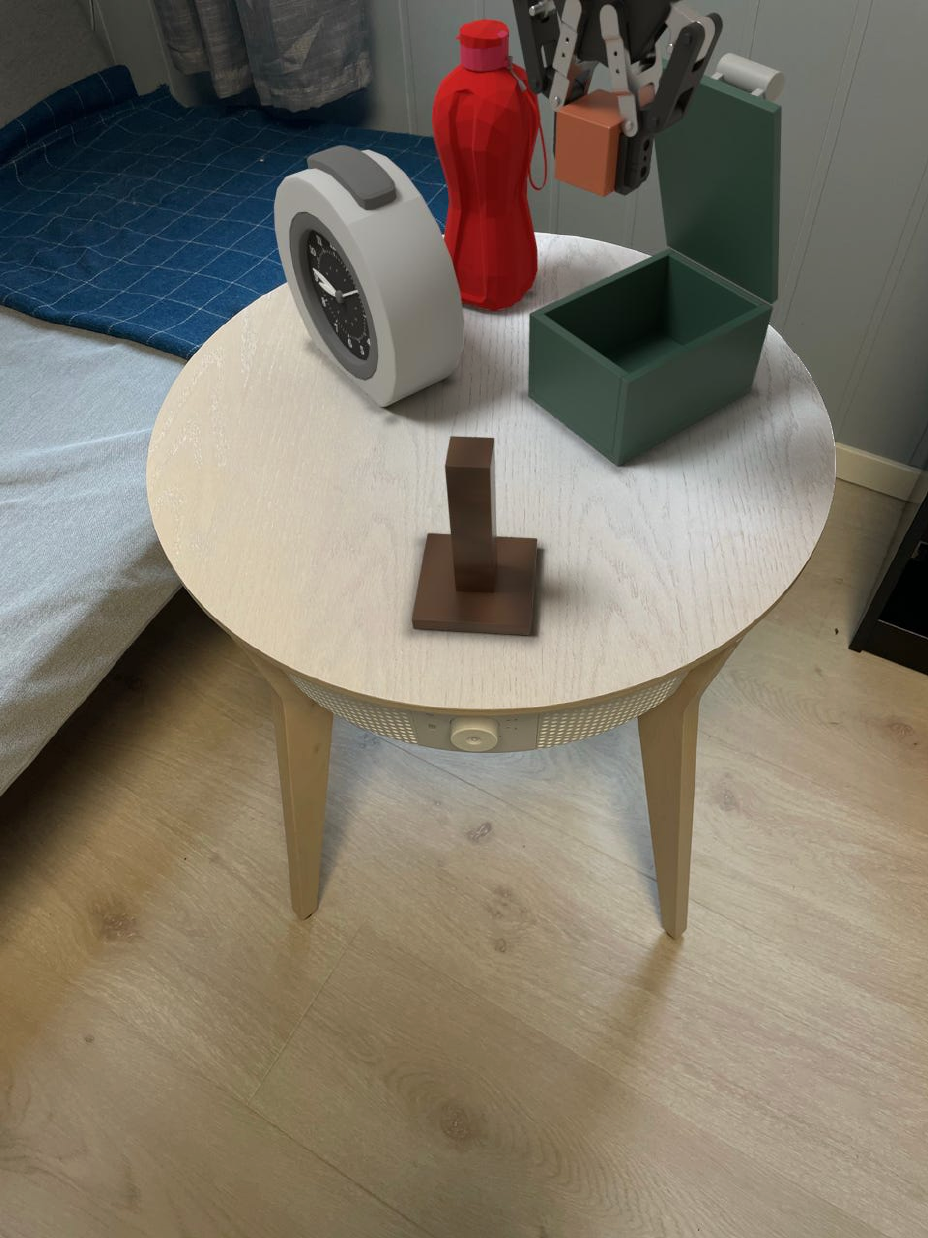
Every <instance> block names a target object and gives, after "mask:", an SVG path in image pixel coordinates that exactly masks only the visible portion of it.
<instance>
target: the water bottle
mask: <svg viewBox="0 0 928 1238" xmlns="http://www.w3.org/2000/svg"><path fill="white" fill-rule="evenodd" d="M455 40H459V47H460V48H459V49H460V50H459V52H460V53H459V54H460V64H458V65H457V66H456V67H455V68H453V69H452V70H451V71H450V72H449V73H448V74H447V75H446V76H445V77H444V78H443V79H442V80H441V81H440V84H439V86H438V88H437V91H436V93H435V96H434V99H433V104H432V109H431V125H432V126H431V127H432V133H433V140H434V144H435V149H436V151H437V155H438V158H439V162H440V165H441V168H442V172H443V175H444V179H445V182H446V186H447V193H448V202H449V203H448V209H447V215H446V222H445V227H444V233H443V234H444V235H443V239H444V241H445V244H446V246H447V249H448V251H449V254H450V256H451V259H452V263H453V267H454V270H455V274H456V278H457V282H458V285H459V289H460V294H461V302H462V304H464V305H469V306H474V307H476V308H479V309H481V310H486V311H491V312H497V311H501V310H506V309H510V308H512V307H514V306H515V305H517V304H518V303H520V302H521V301H522V299H523V298H524V297H525V295H526V294H527V293H528V291H531V290H532V289H533V286H534V284H535V281H536V278H537V274H538V271H539V257H538V256H539V255H538V254H539V253H538V245H537V238H536V234H535V229H534V223H533V220H532V215H531V209H530V205H529V204H530V203H529V200H528V180H529V184H530V185H531V187H532V189H534V190H535V191H540V190H542V189H543V188H544V187H545V185H546V183H547V179H548V159H547V151H546V144H545V138H544V132H543V127H542V123H541V122H542V121H541V120H542V118H541V112H540V105H539V97H538V94H537V95H536V94H533V93H532V92H531V90H530V89H529V86H528V80H527V75H526V70H525V68H523V67H522V66H520V65H518V64H516V63H514V62H513V60H514V56H513V55H510V53H509V52H510V50H509V49H510V29H509V27H508V25H507V24H506V23H504V22H503V21H502V20H496V19H487V18H482V19H476V20H472V21H470V22H467V23H463V25H462V26H461V27H460V28H459V34H458V35H457V36H456V37H455ZM538 134H540V139H541V145H542V152H543V160H544V161H543V162H544V180H543V184H542V186H541V187H538V186H536V184H534V181H533V179H532V173H531V171H532V170H531V169H532V168H531V164H532V160H533V156H534V151H535V146H536V143H537V138H538Z"/></svg>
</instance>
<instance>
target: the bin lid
mask: <svg viewBox="0 0 928 1238" xmlns="http://www.w3.org/2000/svg"><path fill="white" fill-rule="evenodd" d="M668 61H669V59H666V58H663V57H662V66H663V71H662V75H661V77H660V79H659V85H660V82H661V79H662V77H663V74H664V72H665V69H666V66H667V64H668ZM785 83H786V76H785V74H784V72H783V71H780V70H777V69H774V68H772V67H769V66H766V65H764V64H761V63H758V62H756V61H753V60H750V59H747V58H745V57H742V56H740V55H737V54H736V53H735V54H734V53H732V52H727V53H726V54H724V55H723V56H722V57H721V58H720V60H719V61H718V63H717V65H716V69H715V73H713V74H712V75H711V76H708V75H705V74H703V77H702V79H701V81H700V84H699V86H698V88H697V91H696V93H695V95H694V98H693V100H692V102H691V105H690V107H689V109H688V112H687V114H686V116H685V117H684V118H683V119H681V120H679V121H678V122H676V123H674V124H673V125H671V126H669V127H668V128H666V129H664V130H662V131H661V132H659V133H656V134H655V133H654V140H653V144H654V150H655V159H656V167H657V175H658V176H657V177H658V183H659V191H660V200H661V201H660V202H661V209H662V217H663V225H664V233H665V241H666V242H665V243H666V246H667V247H669V248H670V249H671V250H673V251H675V252H677V253H679V254H680V255H682V256H684V257H686V258H687V259H689V260H691V261H693V262H695V263H696V264H698V265H700V266H702V267H703V268H705V269H707V270H709V271H710V272H712V273H714V274H716V275H718V276H719V277H721V278H723V279H725V280H726V281H728V282H730V283H732V284H734V285H735V286H737V287H739V288H741V289H742V290H744V291H746V292H748V293H749V294H751V295H753V296H755V297H757V298H758V299H760V300H762V301H764V302H765V303H767V304H769V305H773V304H774V303H775V302H777V301H778V300H779V268H780V267H779V266H780V219H781V217H780V216H781V213H780V212H781V173H782V172H781V170H782V169H781V164H782V162H781V161H782V120H783V119H782V118H783V117H782V115H783V112H782V111H783V107H782V105H780V104H777V103H775V101H776V100H777V99H778V98H779V96H781V94H782V93H783V89H784V86H785Z"/></svg>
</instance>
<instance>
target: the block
mask: <svg viewBox="0 0 928 1238" xmlns="http://www.w3.org/2000/svg"><path fill="white" fill-rule="evenodd" d="M621 133H623V131H622V128H621V120H620V112H619V103H618V97H617V95H615V94H614V93H613V92H612V91H608V90H605V89H602V88H597V89H594V90H593V91H591V92H588V93H587V95H585V96H583V97H581V98H579V99H578V100H576V101H574V102H572V103H570V104H568V105H566V106H564V107H562V108H560V109H559V110H557V123H556V150H555V158H554V178H555V179H556V180H558V181H561V182H564V183H566V184H569V185H571V186H574V187H576V188H579V189H582V190H584V191H587V192H590V193H592V194H595V195H597V196H600V197H603V198H606V197H607V196H609V195H610V194H612V193H613V192H615V191H614V186H615V175H616V164H617V153H618V142H619V134H621Z"/></svg>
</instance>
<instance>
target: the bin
mask: <svg viewBox="0 0 928 1238" xmlns="http://www.w3.org/2000/svg"><path fill="white" fill-rule="evenodd" d="M773 310H774V306H773V305H772V304H770V303H768V302H766V301H765V300H763V299H761V298H759V297H757V296H756V295H754V294H752V293H750V292H749V291H747V290H745V289H743V288H741V287H740V286H738V285H736V284H734V283H733V282H731V281H729V280H727V279H725V278H724V277H722V276H720V275H718V274H717V273H715V272H713V271H711V270H709V269H708V268H706V267H704V266H702V265H701V264H699V263H697V262H695V261H694V260H692V259H690V258H688V257H686V256H685V255H683V254H681V253H679V252H678V251H676V250H674V249H672V248H670V247H669V248H666V249H664V250H662V251H659V252H658V253H654V255H651V256H649V257H647V258H645V259H642V260H641V261H638V262H636V263H634V264H631V265H630V266H627V267H625V268H623V269H621V270H618V271H617V272H615V273H613V274H610V275H609V276H606V277H604V278H602V279H600V280H598V281H595V282H594V283H593V282H592V283H591V284H589V285H586V286H585V287H583V288H581V289H578V290H576V291H574V292H571V293H570V294H567V295H565V296H564V297H561V298H559V299H557V300H555V301H553V302H550V303H547V304H546V305H544V306H543V307H540V308H538V309H536V310H533V311H531V312H530V313H529V314H528V315H529V319H528V322H529V323H528V379H527V396H528V397H529V398H531V400H533V401H534V402H535V403H536V404H538V406H540V407H541V408H543V409H544V410H545V411H547V412H548V413H549V414H550V415H552V416H553V417H554V418H555V419H557V420H558V421H559V422H560V423H562V425H564V426H566V428H568V429H569V430H571V431H572V432H573V433H574V434H576V435H577V436H578V437H580V438H581V439H582V440H583V441H585V443H587V444H588V445H590V446H591V447H592V448H593V449H595V450H596V451H597V452H599V453H600V454H601V455H603V456H604V457H605V458H606V459H608V460H609V461H610V462H611V463H613V464H614V465H615V466H617V467H620V466H622V465H623V464H625V463H627V462H629V461H630V460H632V459H634V458H636V457H638V456H640V455H641V454H643V453H645V452H646V451H648V450H650V449H652V448H653V447H655V446H657V445H660V444H661V443H663V442H665V441H666V440H667V439H669V438H671V437H674V436H675V435H676V434H678V433H680V432H682V431H683V430H685V429H687V428H688V427H691V426H692V425H694V424H695V423H697V422H699V421H701V420H704V418H707V417H708V416H710V415H712V414H714V413H715V412H717V411H719V410H721V409H722V408H724V407H725V406H728V405H729V404H731V403H733V402H735V401H736V400H738V399H740V398H742V397H744V396H745V395H747V394H749V393H751V391H752V390H753V385H754V381H755V377H756V374H757V371H758V367H759V363H760V359H761V355H762V351H763V348H764V344H765V340H766V336H767V332H768V330H769V329H768V328H769V324H770V321H771V317H772V313H773Z"/></svg>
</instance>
